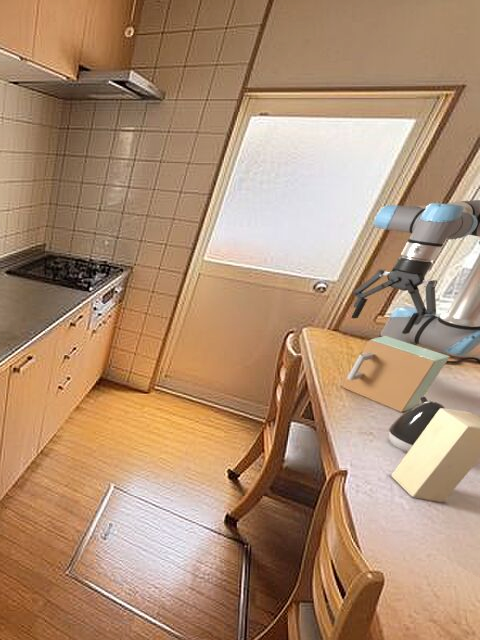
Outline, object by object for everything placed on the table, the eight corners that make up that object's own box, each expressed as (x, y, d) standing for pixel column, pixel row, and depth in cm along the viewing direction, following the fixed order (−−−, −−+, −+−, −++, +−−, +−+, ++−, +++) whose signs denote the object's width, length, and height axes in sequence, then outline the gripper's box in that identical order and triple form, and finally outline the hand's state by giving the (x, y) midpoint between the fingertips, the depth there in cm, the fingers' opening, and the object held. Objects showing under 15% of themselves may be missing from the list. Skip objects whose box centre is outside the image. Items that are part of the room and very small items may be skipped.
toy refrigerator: (447, 504, 99) (506, 432, 90) (412, 498, 100) (467, 426, 91) (422, 481, 106) (474, 412, 97) (390, 475, 107) (438, 407, 98)
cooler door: (391, 415, 135) (424, 364, 126) (332, 390, 148) (358, 342, 140) (402, 411, 138) (435, 361, 130) (344, 386, 152) (370, 339, 143)
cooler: (402, 411, 138) (436, 360, 130) (344, 387, 152) (371, 339, 143) (416, 406, 142) (450, 356, 134) (358, 382, 156) (385, 335, 147)
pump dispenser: (416, 442, 122) (447, 397, 115) (439, 463, 114) (474, 417, 107) (375, 433, 125) (402, 389, 118) (393, 453, 116) (424, 407, 109)
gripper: (360, 249, 133) (329, 312, 143) (468, 270, 113) (423, 341, 123) (372, 249, 136) (341, 311, 146) (479, 269, 116) (434, 338, 126)
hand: (378, 325), depth 134 cm, fingers open, 13 cm apart
